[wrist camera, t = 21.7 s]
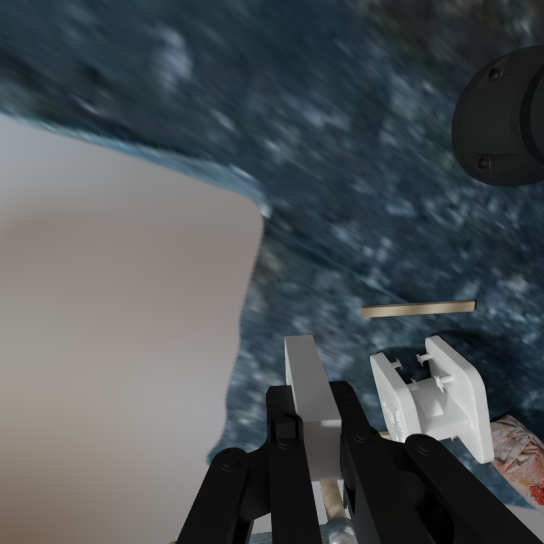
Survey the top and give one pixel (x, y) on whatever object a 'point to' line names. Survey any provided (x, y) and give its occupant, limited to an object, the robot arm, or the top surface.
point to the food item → (519, 459)
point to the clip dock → (331, 486)
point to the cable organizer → (436, 400)
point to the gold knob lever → (334, 533)
